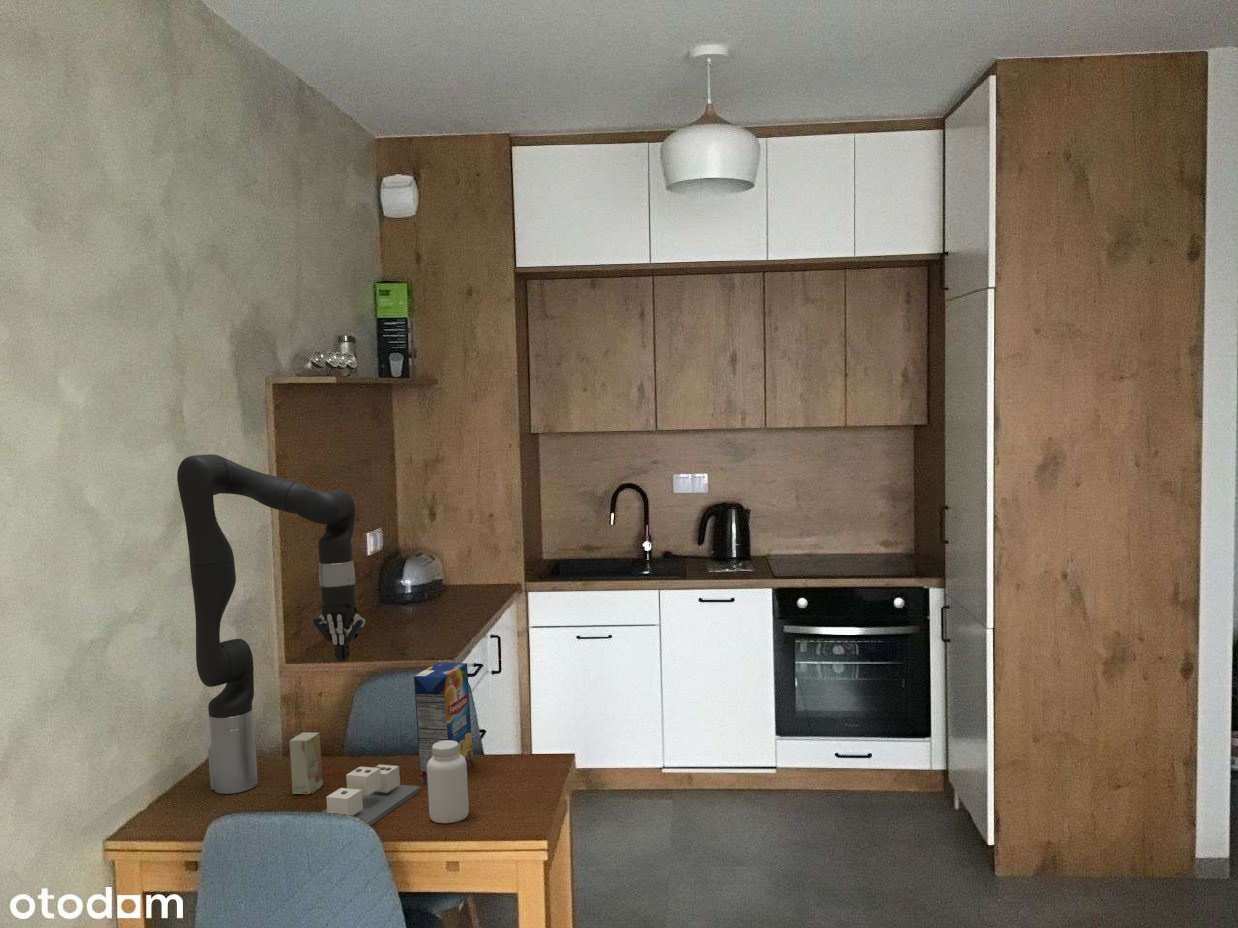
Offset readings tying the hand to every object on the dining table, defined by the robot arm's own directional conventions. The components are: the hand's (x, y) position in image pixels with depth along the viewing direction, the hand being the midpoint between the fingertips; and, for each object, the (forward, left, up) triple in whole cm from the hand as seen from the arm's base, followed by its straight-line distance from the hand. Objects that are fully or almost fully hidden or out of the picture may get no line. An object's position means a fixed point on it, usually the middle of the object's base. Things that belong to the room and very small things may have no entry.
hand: (342, 660), depth 226 cm
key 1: (+9, -15, -27) cm, 32 cm away
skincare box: (-10, -2, -29) cm, 31 cm away
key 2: (+9, -8, -25) cm, 28 cm away
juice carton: (+16, +14, -29) cm, 36 cm away
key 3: (+9, -1, -27) cm, 29 cm away
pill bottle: (+29, -8, -29) cm, 42 cm away
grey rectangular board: (+9, -8, -29) cm, 31 cm away
